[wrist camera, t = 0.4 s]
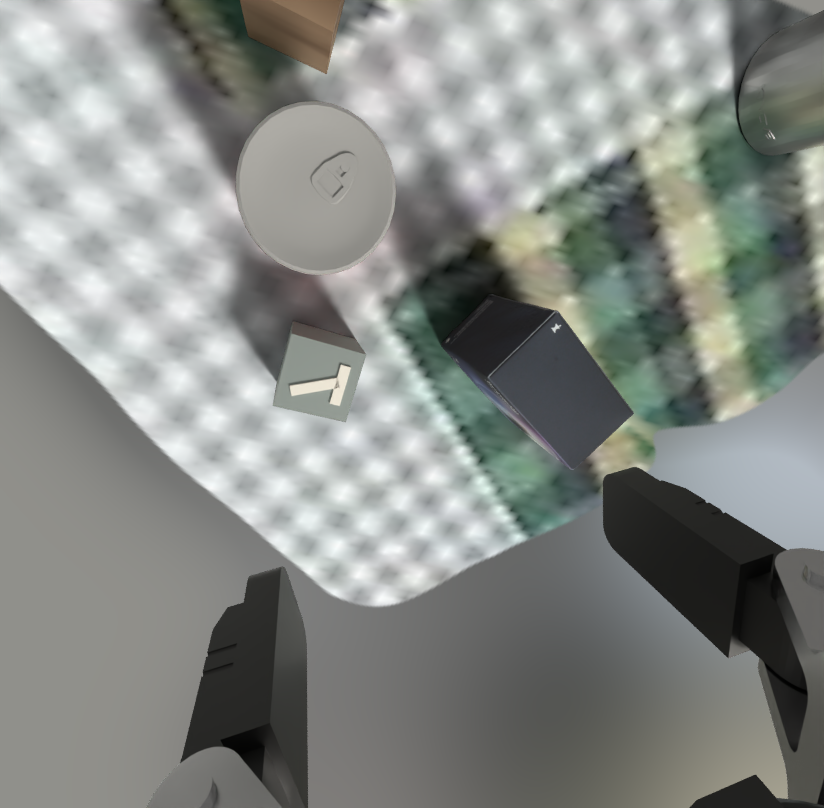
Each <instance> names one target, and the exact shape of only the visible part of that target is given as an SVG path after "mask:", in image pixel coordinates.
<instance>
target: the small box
mask: <svg viewBox="0 0 824 808" xmlns="http://www.w3.org/2000/svg"><path fill="white" fill-rule="evenodd" d="M441 346H442V347H443V349H444V350H445V351H446V352H447V353H448V354H449V356H450V357H451V358H452V359H453V360H454V361H455V362H456V364H457V365H458V366H459V367H460V368H461V369H462V370H463V371H464V372H465V374H466V375H467V376H468V377H469V378H470V379H471V380H472V381H473V382H474V383H475V385H476V386H477V387H478V388H479V389H480V390H481V391H482V392H483V393H484V394H485V395H486V396H487V398H488V399H489V400H490V401H491V402H492V403H493V404H494V405H495V406H496V407H497V408H498V409H499V410H500V411H501V412H502V413H503V414H504V415H505V416H506V417H507V418H508V419H509V420H510V421H511V422H512V423H513V424H514V425H516V426H517V427H518V428H519V429H520V430H522V431H523V432H524V433H525V434H527V435H528V436H529V437H530V438H532V439H533V440H534V441H535V442H536V443H538V444H539V445H540V446H541V447H542V448H544V449H545V450H546V451H548V452H549V453H550V454H551V455H553V456H554V457H555V458H557V459H558V460H559V461H560V462H562V463H563V464H564V465H566V466H567V467H568V468H570V469H571V470H573V469H575V468H576V467H577V466H578V465H579V464H580V463H582V462H583V461H584V460H585V459H586V458H587V457H588V456H589V455H590V454H591V453H592V452H593V451H595V449H596V448H598V447H599V446H600V445H601V444H602V443H603V442H604V441H605V440H606V439H607V438H608V437H609V436H610V435H611V434H612V433H614V432H615V431H616V430H617V429H618V428H619V427H620V426H621V425H622V424H623V423H624V422H625V421H626V420H627V419H628V418H629V417H631V416H632V415H633V414H634V413H633V411H632V410H631V408H630V407H629V406H628V404H627V403H626V402H625V400H624V399H623V398H622V396H621V395H620V393H619V392H618V391H617V389H616V388H615V387H614V385H613V384H612V383H611V381H610V380H609V379H608V377H607V376H606V375H605V373H604V372H603V370H602V369H601V368H600V367H599V365H598V364H597V362H596V361H595V360H594V359H593V357H592V356H591V355H590V353H589V352H588V351H587V349H586V348H585V346H584V345H583V344H582V342H581V341H580V340H579V338H578V337H577V336H576V334H575V333H574V332H573V330H572V329H571V328H570V326H569V325H568V324H567V322H566V321H565V320H564V318H563V317H562V316H561V314H560V313H559V312H558V311H555V310H551V309H547V308H542V307H539V306H535V305H531V304H527V303H522V302H518V301H514V300H510V299H506V298H502V297H500V296H496V295H494V294H489V295H488V296H487V297H486V298H485V299H484V300H483V302H482V303H481V304H480V305H478V306H477V308H476V309H475V310H474V311H473V312H472V313H471V314H470V315H469V316H468V317H467V318H466V319H465V320H464V321H462V323H461V324H460V325H459V326H458V327H457V328H455V329H454V330H453V331H452V332H451V333H450V334H449V336H448V337H447V338H446V339H445V340H444V341H443V342H442V344H441Z"/></svg>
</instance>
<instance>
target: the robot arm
mask: <svg viewBox="0 0 824 808" xmlns="http://www.w3.org/2000/svg"><path fill="white" fill-rule="evenodd" d="M738 112H739V120H740V125H741V129H742V132H743V135H744V137H745V138H746V140H747V142H748V143H749V144H750V145H751V146H752V148H753V149H754V150H756V151H758V152H760V153H761V154H765V155H770V156H773V155H780V154H785V153H790V152H795V151H799V150H804V149H809V148H814V147H819V146H824V10H823V11H821V12H819V13H817V14H815V15H813V16H810V17H808V18H806V19H804V20H802V21H800V22H798V23H795V24H793V25H791V26H789V27H787V28H785V29H783V30H780V31H779V32H777V33H776V34H774V35H772V36H771V37H770V38H769V39H768V40H767V41H765V42H764V43H763V44H762V45H761V47H760V48H759V49H758V51H757V52H756V53H755V55H754V56H753V58H752V60H751V62H750V64H749V66H748V68H747V70H746V72H745V75H744V78H743V81H742V84H741V90H740V95H739V110H738ZM603 527H604V532H605V535H606V538H607V540H608V542H609V543H610V545H611V547H612V548H613V549H614V550H615V551H616V552H617V553H618V554H619V555H620V556H621V557H622V558H623V559H624V560H625V561H626V562H627V563H628V564H629V565H631V566H632V567H633V568H634V569H635V570H636V571H637V572H638V573H639V574H640V575H641V576H642V577H643V578H644V579H645V580H646V581H648V582H649V583H650V584H651V585H652V586H653V587H654V588H655V589H656V590H657V591H658V592H659V593H660V594H661V595H662V596H663V597H664V598H665V599H667V601H668V602H670V603H671V604H672V605H673V606H674V607H675V608H676V609H677V610H678V611H679V612H680V613H681V614H682V615H683V616H684V617H685V618H686V619H688V620H689V621H690V622H691V623H692V624H693V625H694V626H695V627H696V628H697V629H698V630H699V631H700V632H701V633H702V634H704V636H705V637H707V638H708V639H709V640H710V641H711V642H712V643H713V644H714V645H715V646H716V647H717V648H718V649H719V650H720V651H721V652H722V653H723V654H724V655H726V656H727V657H728V658H731V657H733V656H736V655H739V654H741V653H744V652H746V651H749V650H751V651H752V652H754V653H755V654H756V655H757V656H758V657H759V662H758V672H759V676H760V679H761V683H762V686H763V690H764V693H765V696H766V700H767V703H768V707H769V711H770V714H771V718H772V721H773V725H774V728H775V732H776V735H777V738H778V742H779V745H780V749H781V752H782V756H783V760H784V763H785V768H786V774H787V784H788V799H781V798H776V797H775V796H774V795H773V794H772V793H771V792H770V790H769V789H768V788H767V787H766V786H765V785H764V784H763V782H762V781H761V780H760V779H759V778H758V777H757V775H753V776H751V777H749V778H746V779H744V780H742V781H740V782H737V783H735V784H733V785H730V786H728V787H726V788H724V789H721V790H719V791H717V792H715V793H712V794H710V795H708V796H705V797H703V798H701V799H698V800H696V801H695V803H694V804H693V805H692V806H691V807H690V808H824V551H820V550H814V549H805V548H799V549H790V550H786V549H784V548H783V547H781V546H780V545H778V544H776V543H774V542H773V541H771V540H770V539H768V538H766V537H765V536H763V535H762V534H760V533H758V532H756V531H755V530H753V529H752V528H750V527H748V526H747V525H745V524H743V523H742V522H740V521H738V520H737V519H735V518H734V517H732V516H730V515H729V514H727V513H722V511H721V510H720V509H719V508H717V507H715V506H714V505H712V504H711V503H706V502H705V500H704V499H702V498H701V497H699V496H697V495H696V494H694V493H693V492H691V491H689V490H687V489H686V488H683V487H680V486H677V485H674V484H671V483H668V482H665V481H659V480H657V479H655V478H654V477H653V476H651V475H649V474H648V473H646V472H645V471H643V470H642V469H640V468H637V467H632V468H629V469H625V470H622V471H618V472H615V473H611V474H608V475H606V476H605V477H604V480H603ZM207 653H208V657H206V661H205V665H204V669H203V677H201V682H200V686H199V690H198V694H197V698H196V702H195V706H194V710H193V714H192V718H191V722H190V727H189V731H188V735H187V739H186V743H185V747H184V751H183V756H182V759H181V762H180V764H179V765H178V766H177V767H176V768H174V769H173V770H172V771H171V773H169V775H168V776H167V777H166V778H165V779H164V780H163V782H162V783H161V784H160V785H159V787H158V788H157V790H156V791H155V793H154V794H153V796H152V798H151V800H150V802H149V803H148V806H147V808H308V755H307V754H308V750H307V749H308V748H307V747H308V746H307V644H306V635H305V629H304V624H303V620H302V617H301V613H300V610H299V607H298V604H297V601H296V598H295V595H294V592H293V589H292V586H291V583H290V580H289V577H288V574H287V571H286V569H285V568H284V567H279V568H276V569H272V570H269V571H265V572H262V573H259V574H255V575H251V576H249V578H248V582H247V587H246V593H245V599H244V603H241V604H237V605H234V606H231V607H228V608H227V609H226V611H225V612H224V614H223V615H222V617H221V618H220V620H219V621H218V623H217V624H216V626H215V627H214V629H213V632H212V636H211V640H210V644H209V648H208V652H207Z"/></svg>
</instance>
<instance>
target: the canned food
mask: <svg viewBox="0 0 824 808" xmlns="http://www.w3.org/2000/svg"><path fill="white" fill-rule="evenodd" d="M236 196H237V201H238V207H239V211H240V214H241V216H242V219H243V222H244V224H245V227H246V228H247V230H248V232H249V233H250V235H251V237H252V238H253V240H254V241H255V242H256V243H257V245H258V246H259V247H260V248H261V249H262V250H263V251H264V252H265V253H266V254H267V255H268V256H270V257H271V258H272V259H273V260H275V261H276V262H277V263H279V264H281V265H283V266H285V267H287V268H289V269H291V270H294V271H297V272H301V273H304V274H313V275H326V274H334V273H338V272H341V271H344V270H347V269H350V268H351V267H353V266H355V265H357V264H358V263H360V262H362V261H363V260H364V259H365V258H366V257H367V256H369V255H370V254H371V253H372V252H373V251H374V250H375V248H376V247H377V246H378V244H379V243H380V242H381V241H382V239H383V238H384V236H385V234H386V232H387V230H388V228H389V226H390V223H391V219H392V216H393V212H394V208H395V198H396V187H395V176H394V172H393V168H392V164H391V160H390V158H389V156H388V154H387V151H386V149H385V147H384V145H383V144H382V142H381V141H380V139H379V138H378V136H377V135H376V133H375V132H374V131H373V130H372V129H371V128H370V127H369V126H368V125H367V124H366V123H365V122H364V121H363V120H362V119H361V118H359V117H358V116H356V115H355V114H353V113H352V112H350V111H349V110H346V109H344V108H341V107H339V106H337V105H334V104H330V103H324V102H319V101H308V102H298V103H294V104H291V105H287V106H284V107H282V108H280V109H278V110H277V111H275V112H273V113H271V114H269V115H268V116H267V117H266V118H265V119H264V120H263V121H261V122H260V123H259V124H258V125H257V126H256V127H255V129H254V130H253V132H252V133H251V134H250V136H249V137H248V139H247V140H246V142H245V145H244V147H243V149H242V152H241V154H240V157H239V162H238V166H237V171H236Z"/></svg>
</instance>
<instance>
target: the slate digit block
mask: <svg viewBox="0 0 824 808" xmlns="http://www.w3.org/2000/svg"><path fill="white" fill-rule="evenodd" d="M365 357H366V354H365V352H364V351H363V349H362V348H361V346H360V345H359V343H358V342H357V340H356V339H353V338H350V337H347V336H343V335H340V334H336V333H333V332H329V331H326V330H323V329H319V328H316V327H312V326H309V325H305V324H302V323H298V322H295V321H293V322H292V326H291V329H290V333H289V337H288V341H287V345H286V349H285V353H284V357H283V360H282V364H281V368H280V372H279V376H278V380H277V384H276V390H275V396H274V402H273V406H276V407H281V408H285V409H289V410H294V411H298V412H303V413H307V414H312V415H316V416H320V417H325V418H329V419H334V420H338V421H342V422H346V419H347V416H348V413H349V409H350V406H351V403H352V400H353V396H354V393H355V390H356V386H357V383H358V380H359V377H360V373H361V370H362V367H363V363H364V360H365Z"/></svg>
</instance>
